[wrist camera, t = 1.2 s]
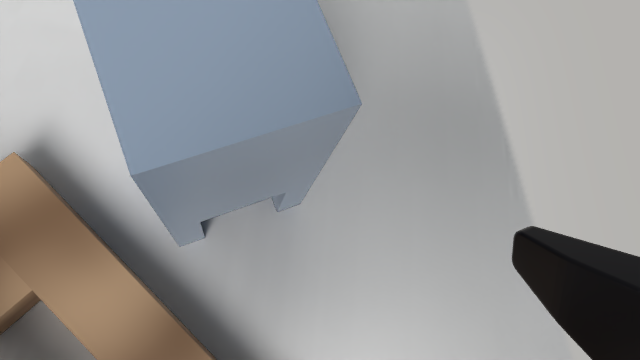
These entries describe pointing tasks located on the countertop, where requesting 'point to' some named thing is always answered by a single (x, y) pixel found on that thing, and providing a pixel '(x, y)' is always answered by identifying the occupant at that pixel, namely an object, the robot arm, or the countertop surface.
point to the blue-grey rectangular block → (219, 100)
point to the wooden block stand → (78, 277)
